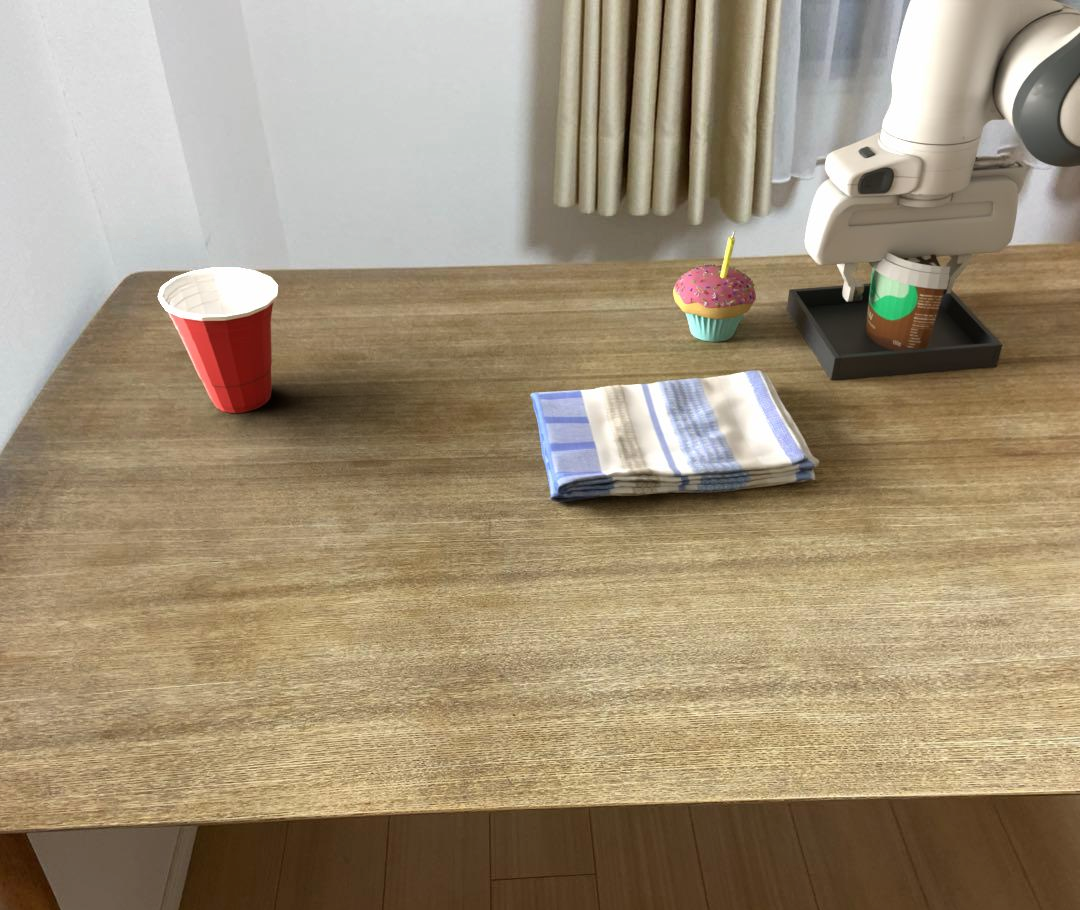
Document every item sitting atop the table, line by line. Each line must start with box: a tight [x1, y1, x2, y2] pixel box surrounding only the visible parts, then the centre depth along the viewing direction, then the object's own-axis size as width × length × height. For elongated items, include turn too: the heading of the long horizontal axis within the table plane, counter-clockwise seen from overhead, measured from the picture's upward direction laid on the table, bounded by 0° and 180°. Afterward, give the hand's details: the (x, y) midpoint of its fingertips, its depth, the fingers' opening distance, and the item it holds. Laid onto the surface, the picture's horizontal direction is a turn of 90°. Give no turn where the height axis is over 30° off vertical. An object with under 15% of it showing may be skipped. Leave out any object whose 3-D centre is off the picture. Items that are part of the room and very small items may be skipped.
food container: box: [865, 252, 950, 351], centre depth 105 cm, size 12×6×10 cm, turn 178°
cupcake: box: [672, 230, 757, 343], centre depth 106 cm, size 9×8×12 cm
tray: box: [785, 282, 1004, 381], centre depth 107 cm, size 17×15×2 cm
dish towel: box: [530, 369, 821, 503], centre depth 93 cm, size 17×24×3 cm
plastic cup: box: [157, 266, 279, 414], centre depth 98 cm, size 11×11×12 cm
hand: (895, 295), depth 105 cm, fingers open, 8 cm apart
